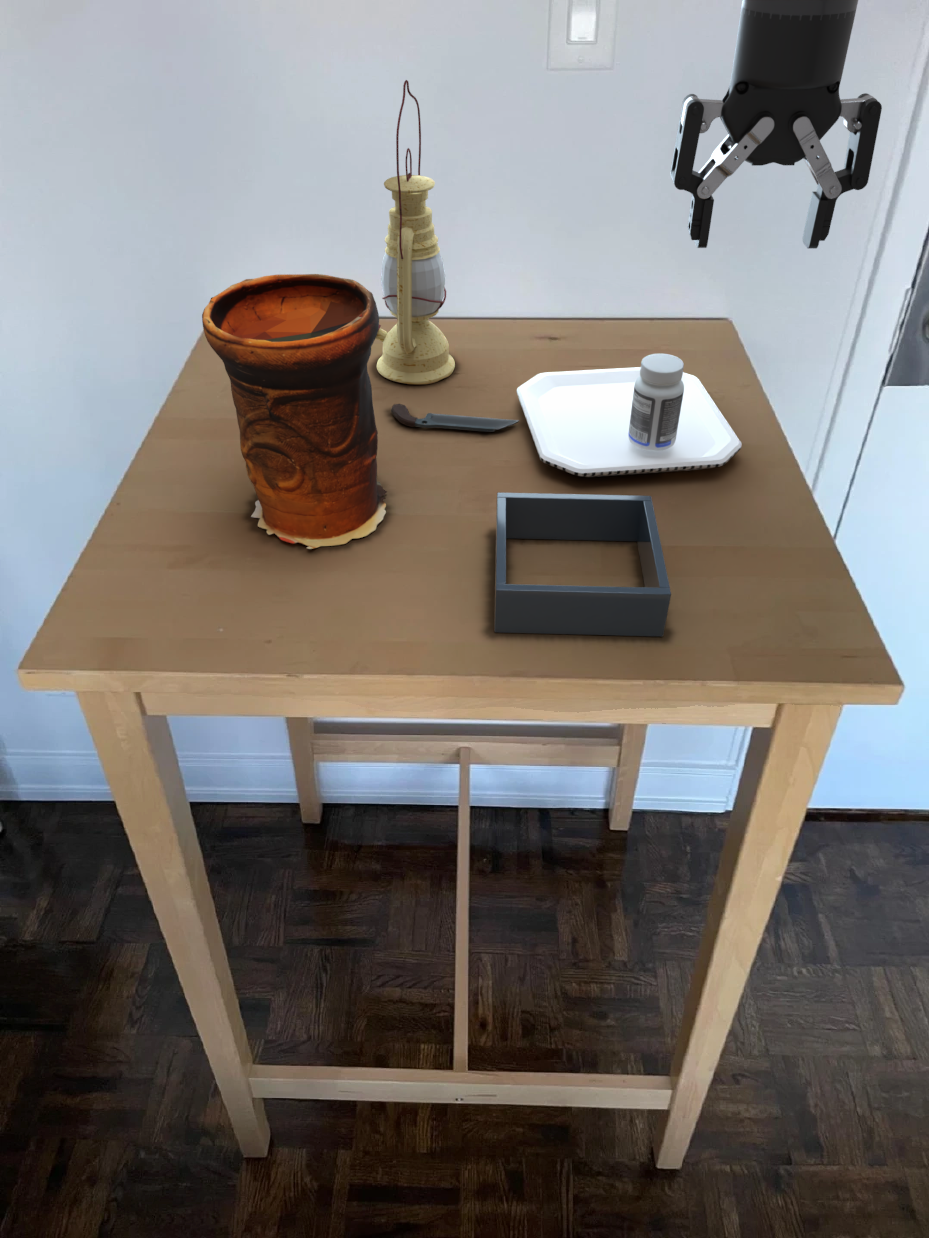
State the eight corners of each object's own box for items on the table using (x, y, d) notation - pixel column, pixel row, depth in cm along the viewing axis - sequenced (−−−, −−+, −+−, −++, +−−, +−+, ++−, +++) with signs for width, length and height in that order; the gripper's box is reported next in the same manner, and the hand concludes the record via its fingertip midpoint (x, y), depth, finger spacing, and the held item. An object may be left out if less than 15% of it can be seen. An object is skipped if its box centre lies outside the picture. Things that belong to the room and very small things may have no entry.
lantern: (384, 341, 116) (368, 64, 97) (462, 347, 115) (463, 68, 95) (360, 387, 107) (338, 92, 88) (445, 394, 106) (442, 96, 86)
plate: (545, 492, 91) (546, 473, 90) (510, 391, 107) (511, 373, 105) (750, 478, 93) (754, 459, 92) (686, 381, 109) (690, 363, 107)
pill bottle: (673, 429, 96) (686, 352, 91) (676, 453, 93) (690, 375, 87) (626, 426, 96) (636, 350, 91) (628, 451, 93) (638, 372, 87)
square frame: (644, 536, 86) (651, 495, 83) (663, 637, 76) (671, 594, 73) (495, 533, 86) (497, 492, 83) (494, 632, 76) (495, 589, 73)
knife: (385, 426, 101) (385, 420, 100) (393, 408, 104) (393, 402, 103) (516, 436, 99) (516, 431, 99) (520, 418, 102) (520, 412, 101)
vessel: (207, 530, 87) (161, 321, 73) (290, 455, 96) (263, 259, 83) (344, 570, 82) (321, 356, 69) (416, 487, 92) (409, 285, 79)
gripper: (701, 10, 61) (669, 262, 72) (925, 8, 61) (860, 262, 71) (685, -6, 67) (658, 229, 77) (889, -8, 66) (834, 229, 77)
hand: (755, 245), depth 74 cm, fingers open, 8 cm apart
